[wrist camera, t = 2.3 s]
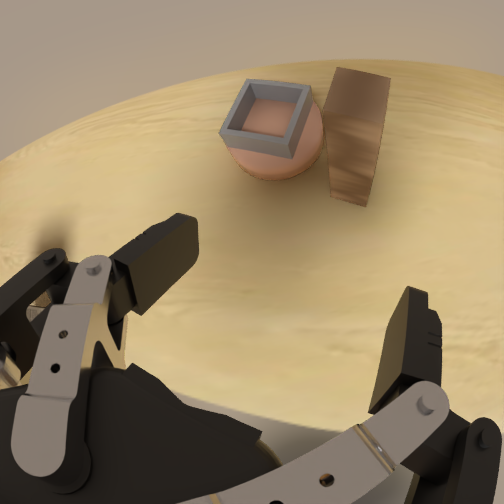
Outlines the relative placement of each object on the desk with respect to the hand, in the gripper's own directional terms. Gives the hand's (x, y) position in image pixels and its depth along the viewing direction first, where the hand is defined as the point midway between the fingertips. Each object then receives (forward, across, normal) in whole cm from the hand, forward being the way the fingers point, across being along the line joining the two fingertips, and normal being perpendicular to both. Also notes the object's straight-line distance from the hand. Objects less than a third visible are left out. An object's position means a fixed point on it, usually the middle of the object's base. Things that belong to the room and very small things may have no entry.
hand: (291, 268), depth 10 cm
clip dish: (+22, +9, +1) cm, 24 cm away
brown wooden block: (+20, 0, +4) cm, 20 cm away
